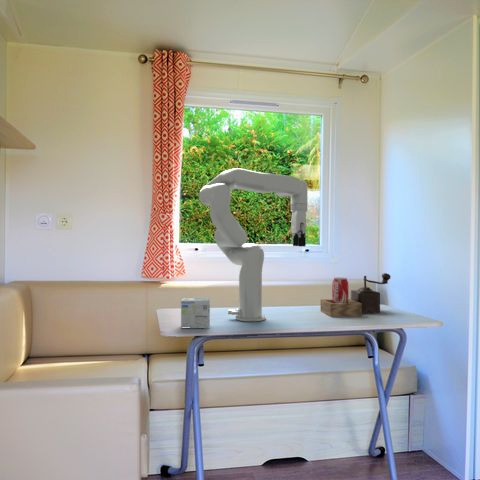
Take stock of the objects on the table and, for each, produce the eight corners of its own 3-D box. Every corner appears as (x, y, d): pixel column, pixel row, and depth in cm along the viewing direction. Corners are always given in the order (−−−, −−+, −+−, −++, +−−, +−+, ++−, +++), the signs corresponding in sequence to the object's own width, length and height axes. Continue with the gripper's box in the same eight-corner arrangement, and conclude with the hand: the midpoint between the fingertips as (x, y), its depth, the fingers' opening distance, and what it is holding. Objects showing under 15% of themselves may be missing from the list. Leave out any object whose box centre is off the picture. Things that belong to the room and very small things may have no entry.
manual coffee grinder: (359, 313, 186) (359, 273, 186) (350, 309, 197) (350, 271, 197) (392, 313, 188) (392, 273, 188) (381, 309, 199) (381, 271, 199)
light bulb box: (209, 325, 162) (209, 297, 162) (209, 328, 155) (209, 300, 155) (182, 325, 161) (182, 297, 161) (180, 329, 155) (180, 300, 155)
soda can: (348, 306, 182) (348, 279, 182) (332, 305, 184) (332, 278, 183) (348, 303, 189) (348, 277, 189) (332, 303, 190) (332, 277, 190)
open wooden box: (330, 316, 179) (330, 304, 179) (320, 311, 193) (320, 299, 193) (361, 316, 180) (361, 303, 180) (349, 310, 194) (349, 298, 194)
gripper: (286, 209, 197) (286, 245, 197) (295, 207, 179) (295, 246, 179) (302, 209, 197) (302, 245, 197) (312, 207, 180) (312, 246, 180)
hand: (299, 246), depth 188 cm, fingers open, 9 cm apart
